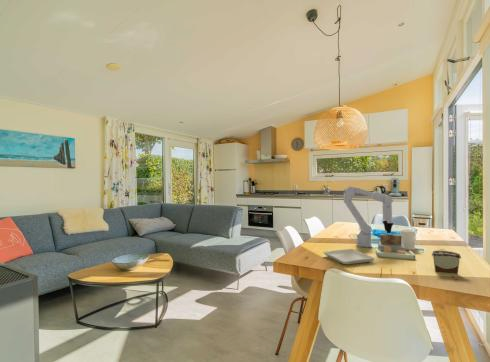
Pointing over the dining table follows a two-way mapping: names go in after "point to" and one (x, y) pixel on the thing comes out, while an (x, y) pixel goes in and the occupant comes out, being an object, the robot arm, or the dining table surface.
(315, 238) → the dining table surface
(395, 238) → the long brown wooden post
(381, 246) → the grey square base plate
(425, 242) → the dining table surface
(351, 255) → the salad plate
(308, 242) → the dining table surface
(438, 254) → the food container
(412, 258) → the tray
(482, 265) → the dining table surface
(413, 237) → the mug
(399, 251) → the tile
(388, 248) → the tile
